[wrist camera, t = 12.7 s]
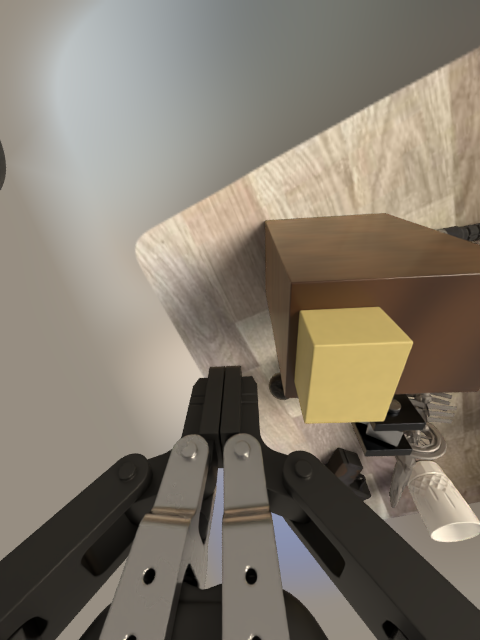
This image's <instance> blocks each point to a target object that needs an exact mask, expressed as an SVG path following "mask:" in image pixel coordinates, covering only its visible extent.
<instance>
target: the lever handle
mask: <svg viewBox="0 0 480 640" xmlns="http://www.w3.org/2000/svg"><path fill="white" fill-rule="evenodd" d="M269 390H270V392H271V394H272V395H273V396H274V397H275V398H277V399H280V400H286V399H289V398H285V395H284V389H283V384H282V379H281V373H277V374H275V375H274V376H272V378H271V379H270V382H269ZM298 399H299V398H298ZM360 423H363V424H366V425H367V430H366V434H367V435H369V436H372V437H374V438H377V439H379V440H382V441H384V442H387V443H389V444H392V445H394V446H398V444H399V441H400V439H401V437H402V435H403V431H373V429H372V427H371V425H370V423H369V422H360Z"/></svg>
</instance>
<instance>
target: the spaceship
mask: <svg viewBox="0 0 480 640" xmlns="http://www.w3.org/2000/svg"><path fill="white" fill-rule="evenodd" d="M430 394H432V395H437V396H441V397H445V398H449V399H451V398H452V395H449V394H445V393H419V394H406V395H407V397H415V398H414V399H409V400H410V401H411V402H412V404H413V405H414V407H415V408H416V409H417V411H418V412H419V414H420V415H421V416H422V418H423V419H424V421H425V422H426V425H425V427H424V429H423V430H408V431H403V434H406V435H405V437H406V439H407V441H408V442H409V444H410V446H411V447H412V449H413V450H412V452H411V454H410V455H402V456H395V458H396V460H397V462H396V465H395V468H394V471H393V475H392V481H391V488H390V492H389V496H390V502H391V507H392V508H395V507H396V505H397V503H398V501H399V500H400V498H401V495H402V494H401V493H402V492H403V489H404V488H405V486H406V485H407V483H408V481H409V478H410V475H411V474H412V473H411V472H412V471H413V470H412V469H413V467H415V465H416V460H415V458H417V459H423V460H433V459H437V458H439V457H441V456H443V455H444V453H445V452H446V449H447V445H446V441H445V439H444V437H443V435H442V434H441V432H440V431H439V430H438V429H437V428H436V427H435V426H433V425H432V424H431V423H429V422H441V423H452V420H448V419H440V418H431V417H429V415H433V416H447V417H454V415H455V414H454V413H446V412H437V411H429V410H428V409H439V410H443V411H447V410H456V409H457V407H453V406H444V405H435V404H432V403H430V401H434V402H438V403H442V404H446V405H449V404H450V402H448V401H445V400H441V399H438V398H434V397H431V395H430ZM427 415H428V417H427ZM420 431H421V432H423V433H424V434H425V435H426V436H424V435H421V434H420V433H421V432H420ZM419 437H420V438H424V439H429V441H430V444H429V445H426V443H425V442H424V441H423V443H424V444H425V445H423V444H422V445H423V446H418V442H419V440H420V441H421V442H422V440H421V439H420V438H419ZM419 443H420V442H419ZM426 453H427V454H426Z"/></svg>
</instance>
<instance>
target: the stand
mask: <svg viewBox="0 0 480 640" xmlns="http://www.w3.org/2000/svg"><path fill="white" fill-rule="evenodd" d="M265 279H266V297H267V302H268V308H269V313H270V318H271V324H272V329H273V335H274V340H275V346H276V351H277V357H278V362H279V368H280V373H281V379H282V384H283V389H284V395H285V398H298V394H297V390H296V386H295V382H294V380H295V366H296V353H297V339H298V326H299V312H300V311H301V310H321V309H342V308H363V307H380V308H381V309H382V310H383V311H384V312H385V313H386V314H387V315H388V316H389V317H390V318H391V319H392V320H393V321H394V322H395V323H396V324H397V325H398V326H399V327H400V329H401V330H402V331H403V332H404V333H405V334H406V335H407V336H408V337H409V338H410V339H411V340H412V341H413V345H412V347H411V350H410V353H409V355H408V358H407V361H406V363H405V366H404V369H403V372H402V374H401V377H400V380H399V382H398V385H397V388H396V390H395V393H394V394H419V393H448V392H477V391H479V389H480V245H478V244H475V243H472V242H469V241H466V240H463V239H460V238H457V237H454V236H451V235H448V234H445V233H443V232H440V231H437V230H434V229H431V228H428V227H425V226H422V225H419V224H416V223H413V222H410V221H407V220H404V219H401V218H398V217H395V216H392V215H389V214H386V213H380V214H364V215H347V216H331V217H314V218H298V219H281V220H266V221H265Z"/></svg>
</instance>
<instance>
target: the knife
mask: <svg viewBox="0 0 480 640" xmlns="http://www.w3.org/2000/svg"><path fill="white" fill-rule="evenodd" d="M437 231H440V232H443V233H445V234H448V235H451V236H454V237H457V238H460V239H463V240H466V241H469V242H470V241H474V240H480V223H479V224H474V225H468V226H464V227H458V226H454V227H449V228H444V229H440V230H437Z"/></svg>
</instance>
